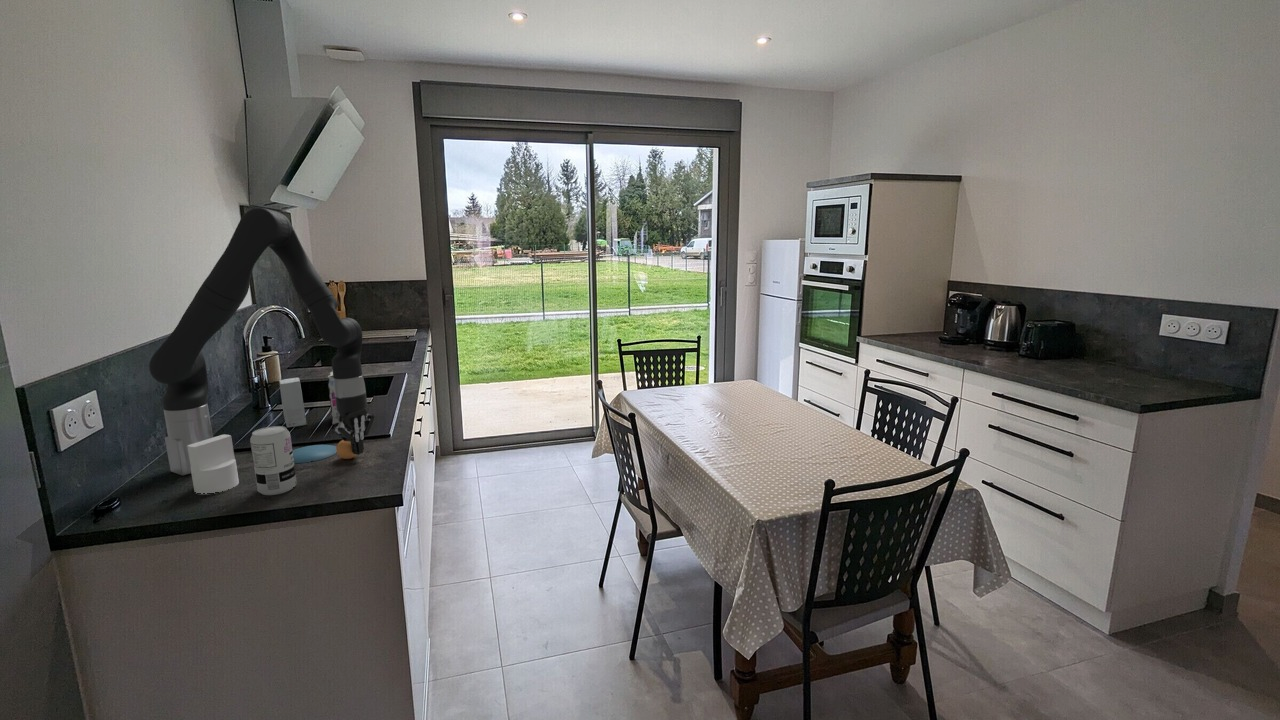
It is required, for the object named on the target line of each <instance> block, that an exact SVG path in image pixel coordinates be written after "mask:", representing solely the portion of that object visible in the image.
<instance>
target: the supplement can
mask: <svg viewBox="0 0 1280 720" xmlns="http://www.w3.org/2000/svg"><path fill="white" fill-rule="evenodd" d="M249 442H250V447H251V454H252V462H253V467H254V468H253V469H254V474H255V482H256V483H255V484H256V488H257V492H258V493H260V494H262V495H264V496H275V495H276V496H277V495H281V494H284V493H287V492H289V491H291V490H293V489H294V488H293V487H295V486H296V485H297V483H298V482H297V474H296V468H295V467H296V466H295V463H294V459H293V451H292V450H293V444H292V437H291V433H290V431H289V430H288V429H287V426H281V425H276V426H275V425H274V426H267V427H261V428H259V429H256V430H254V431H253V432H252V433H251V437H250V438H249Z"/></svg>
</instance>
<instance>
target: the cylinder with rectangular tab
mask: <svg viewBox="0 0 1280 720" xmlns="http://www.w3.org/2000/svg"><path fill="white" fill-rule="evenodd" d="M232 438H233V437H232V435H230V434H220V435H218V436H213V438H210V439H207V440H203V441H200V442H197V443H194V444H190V445H187V447H188V453H189V459H190V465H191V479H192V485H193V491H194V493H195V492H196V493H195V494H197V493H201V494H200V495H208V494H207V493H214V494H216V493H215V492H219V493H222V491H223V492H226V491H229V490H231V489H234V488H236V487H237V486H238V485H239V483H240V480H239V474H238V467H237V461H236V457H235V451H234V446H233V440H232ZM233 487H234V488H233ZM228 489H229V490H228ZM203 493H205V494H203Z"/></svg>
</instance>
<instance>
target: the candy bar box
mask: <svg viewBox="0 0 1280 720" xmlns="http://www.w3.org/2000/svg"><path fill="white" fill-rule="evenodd" d="M327 382H328V383H327V384H328V385H327V386H328V393H329V402H330V403H329V404H330V413H331V423H332V425H338V424H339V423H340V422H339V417H340V414H339V412H338V411H337V408H336V401H335V393H334V378H333V371H332V370H331V372H329V374H328V376H327Z"/></svg>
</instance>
